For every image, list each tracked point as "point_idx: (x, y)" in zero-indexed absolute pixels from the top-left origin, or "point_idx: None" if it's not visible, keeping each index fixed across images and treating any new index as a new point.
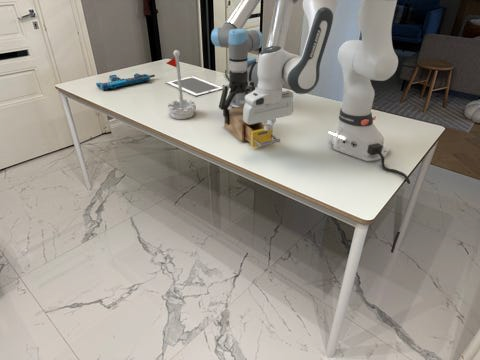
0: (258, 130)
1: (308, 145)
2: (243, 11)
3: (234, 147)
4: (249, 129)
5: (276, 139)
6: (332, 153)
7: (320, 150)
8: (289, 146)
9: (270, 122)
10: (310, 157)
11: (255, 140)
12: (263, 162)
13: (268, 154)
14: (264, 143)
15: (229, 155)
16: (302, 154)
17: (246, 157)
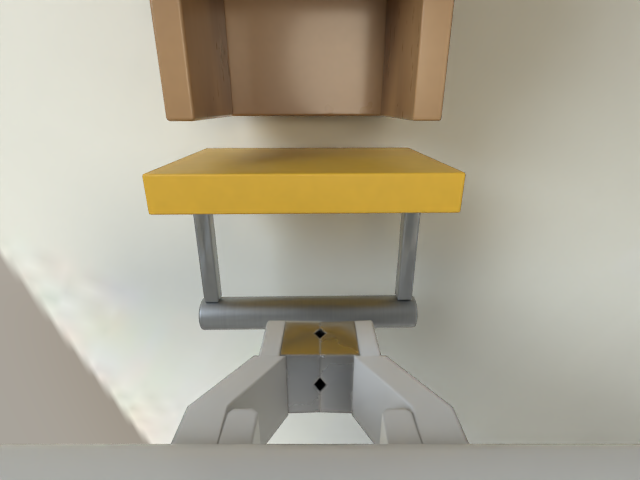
0: (245, 198)
1: (615, 297)
2: None
3: (78, 52)
4: (161, 66)
5: (382, 320)
6: (633, 425)
7: (613, 376)
8: (497, 252)
9: (375, 386)
10: (496, 411)
11: (198, 232)
12: (212, 350)
13: (293, 283)
14: (246, 327)
15: (4, 168)
16: (485, 370)
17: (127, 253)
